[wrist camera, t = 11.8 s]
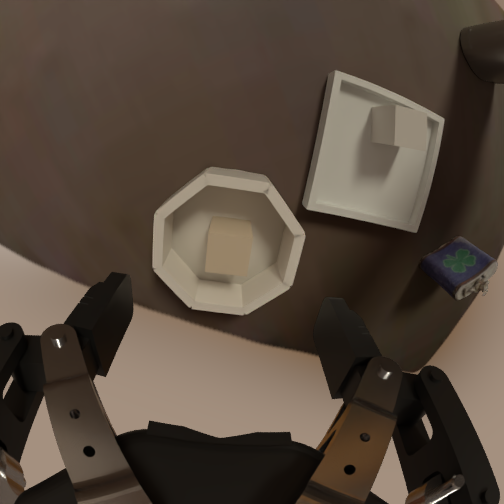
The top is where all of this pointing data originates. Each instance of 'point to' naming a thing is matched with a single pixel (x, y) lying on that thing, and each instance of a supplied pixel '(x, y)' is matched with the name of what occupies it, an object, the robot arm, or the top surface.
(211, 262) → the cream wooden brick
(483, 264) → the flask
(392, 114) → the pebble grey
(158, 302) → the top surface
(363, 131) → the tray
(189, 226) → the bowl
